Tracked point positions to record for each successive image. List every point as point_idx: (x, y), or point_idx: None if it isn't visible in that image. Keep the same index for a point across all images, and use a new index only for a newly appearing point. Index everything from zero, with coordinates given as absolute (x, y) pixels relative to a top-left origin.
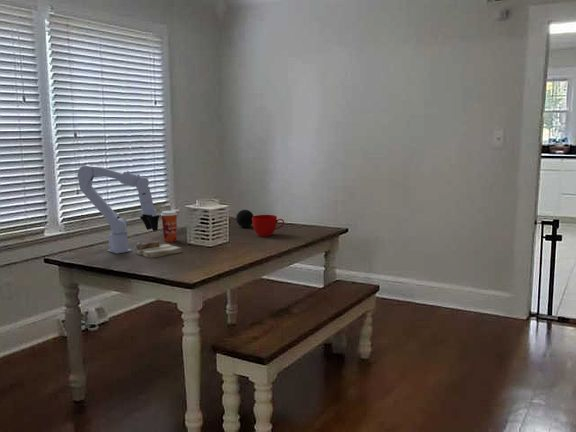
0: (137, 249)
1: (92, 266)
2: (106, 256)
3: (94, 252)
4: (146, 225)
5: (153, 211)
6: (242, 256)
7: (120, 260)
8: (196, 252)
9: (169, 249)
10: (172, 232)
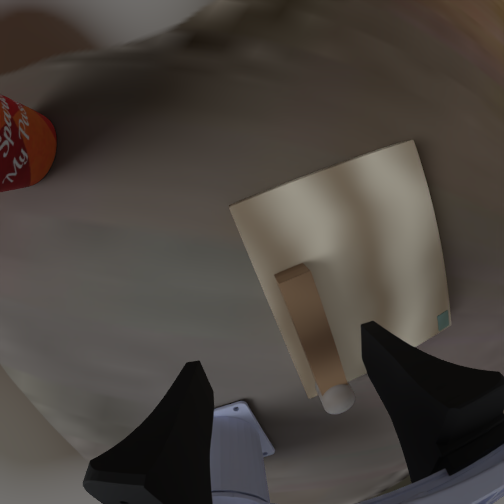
0: None
1: None
2: (300, 471)
3: None
4: (210, 428)
5: (493, 494)
6: (500, 5)
7: None
8: (427, 79)
9: (422, 218)
10: (25, 125)
